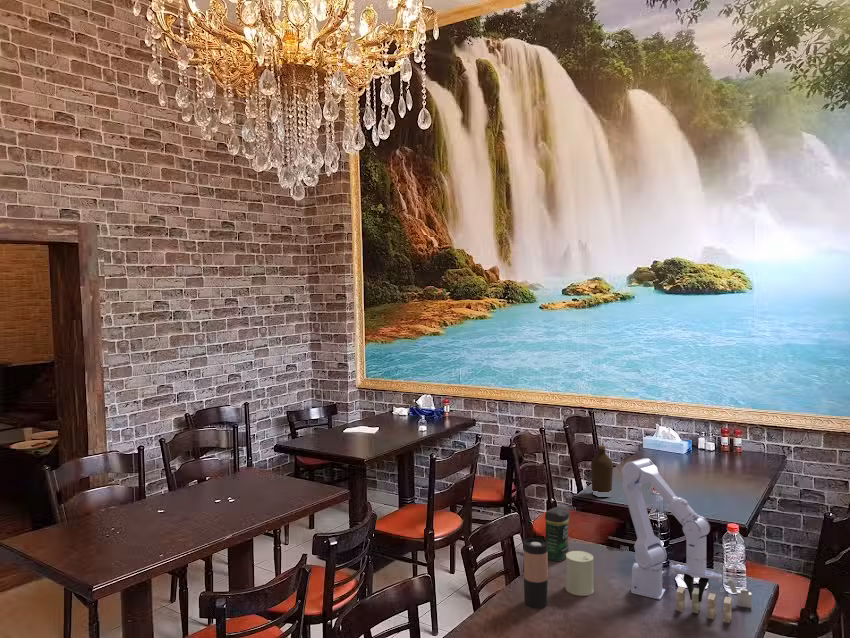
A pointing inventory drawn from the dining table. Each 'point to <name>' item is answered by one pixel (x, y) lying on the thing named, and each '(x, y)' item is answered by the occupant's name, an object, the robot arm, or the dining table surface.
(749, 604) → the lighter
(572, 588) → the can
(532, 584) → the travel mug
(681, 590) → the domino
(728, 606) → the domino
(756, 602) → the dining table surface
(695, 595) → the domino
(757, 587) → the dining table surface
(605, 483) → the olive oil
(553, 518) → the coffee jar
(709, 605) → the domino
